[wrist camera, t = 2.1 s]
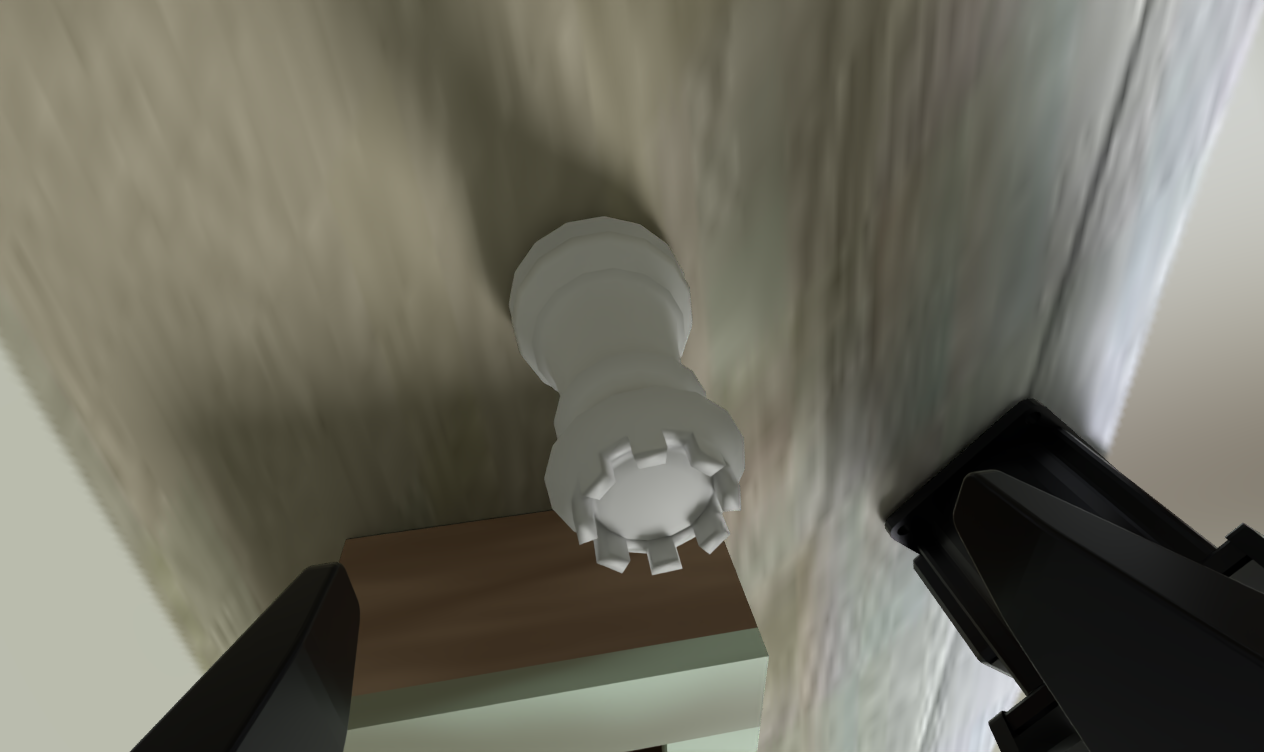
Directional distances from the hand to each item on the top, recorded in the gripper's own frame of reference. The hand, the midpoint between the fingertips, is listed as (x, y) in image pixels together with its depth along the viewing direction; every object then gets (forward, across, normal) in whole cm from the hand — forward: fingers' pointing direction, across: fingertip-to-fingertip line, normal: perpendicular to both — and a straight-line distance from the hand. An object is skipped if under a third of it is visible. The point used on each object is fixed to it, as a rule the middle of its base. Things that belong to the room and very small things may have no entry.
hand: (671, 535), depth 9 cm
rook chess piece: (+9, 0, 0) cm, 9 cm away
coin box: (+8, +3, +13) cm, 16 cm away
